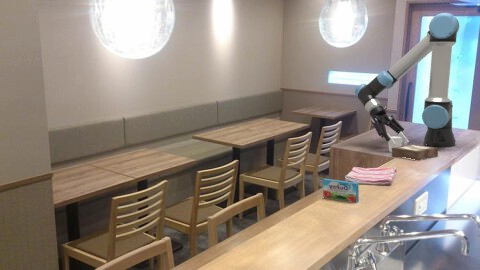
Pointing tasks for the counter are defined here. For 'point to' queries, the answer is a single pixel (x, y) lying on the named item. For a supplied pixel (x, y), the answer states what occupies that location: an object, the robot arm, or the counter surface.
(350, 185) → the blue flat box
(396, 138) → the white cup
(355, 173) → the dish towel
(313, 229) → the counter surface
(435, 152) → the block
